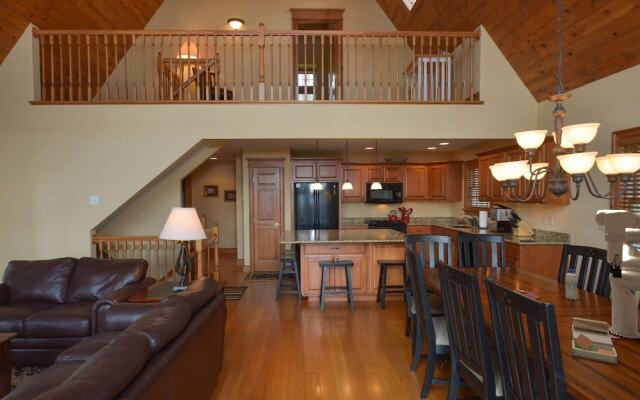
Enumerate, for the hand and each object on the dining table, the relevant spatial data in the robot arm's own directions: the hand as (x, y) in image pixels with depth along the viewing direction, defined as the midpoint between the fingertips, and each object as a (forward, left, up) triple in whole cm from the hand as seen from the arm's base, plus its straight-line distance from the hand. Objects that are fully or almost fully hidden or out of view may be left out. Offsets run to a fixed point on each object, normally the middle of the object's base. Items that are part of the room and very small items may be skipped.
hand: (615, 275), depth 162 cm
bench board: (+4, -9, -32) cm, 34 cm away
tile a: (+19, +1, -30) cm, 35 cm away
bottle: (-65, -40, -32) cm, 83 cm away
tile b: (+17, -8, -29) cm, 34 cm away
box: (+19, -3, -32) cm, 38 cm away
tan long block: (0, -10, -28) cm, 30 cm away
